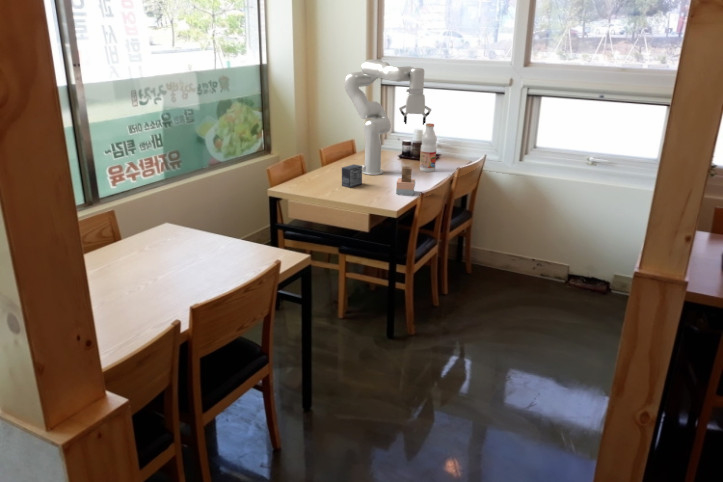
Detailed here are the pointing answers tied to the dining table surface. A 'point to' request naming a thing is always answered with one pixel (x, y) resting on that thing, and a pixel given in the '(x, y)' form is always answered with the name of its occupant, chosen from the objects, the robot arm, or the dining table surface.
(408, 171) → the block
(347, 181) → the small box
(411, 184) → the tower top
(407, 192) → the tower base
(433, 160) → the fruit juice
